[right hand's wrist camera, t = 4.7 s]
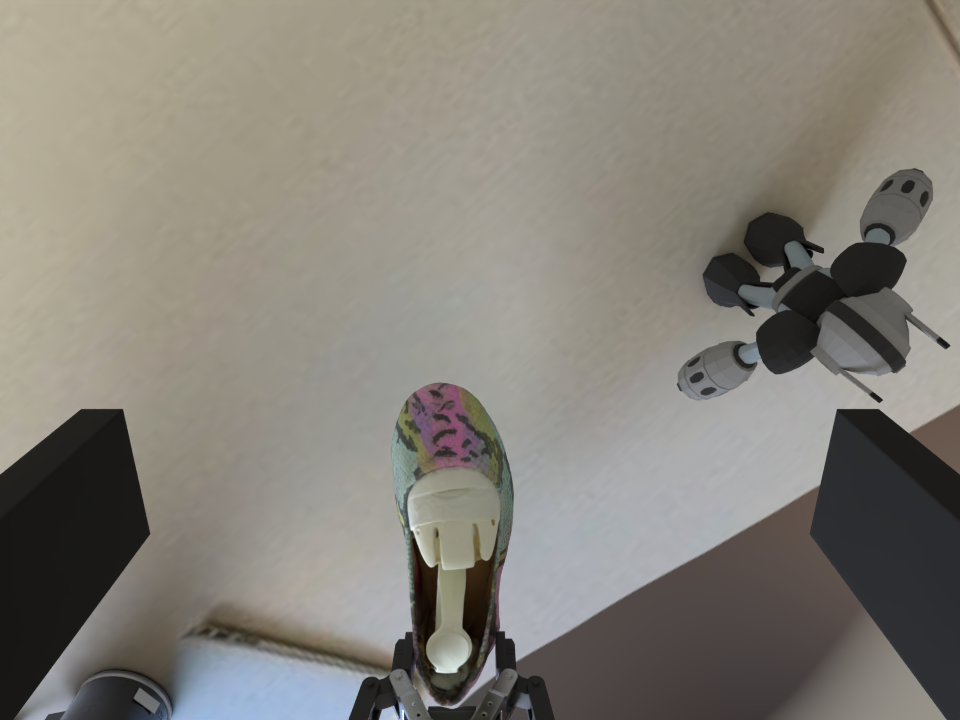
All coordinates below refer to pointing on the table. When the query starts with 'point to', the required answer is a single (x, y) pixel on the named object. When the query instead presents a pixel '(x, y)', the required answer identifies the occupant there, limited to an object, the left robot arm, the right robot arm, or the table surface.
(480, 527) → the ballet flat
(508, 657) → the left robot arm
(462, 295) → the table surface
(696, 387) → the robot
